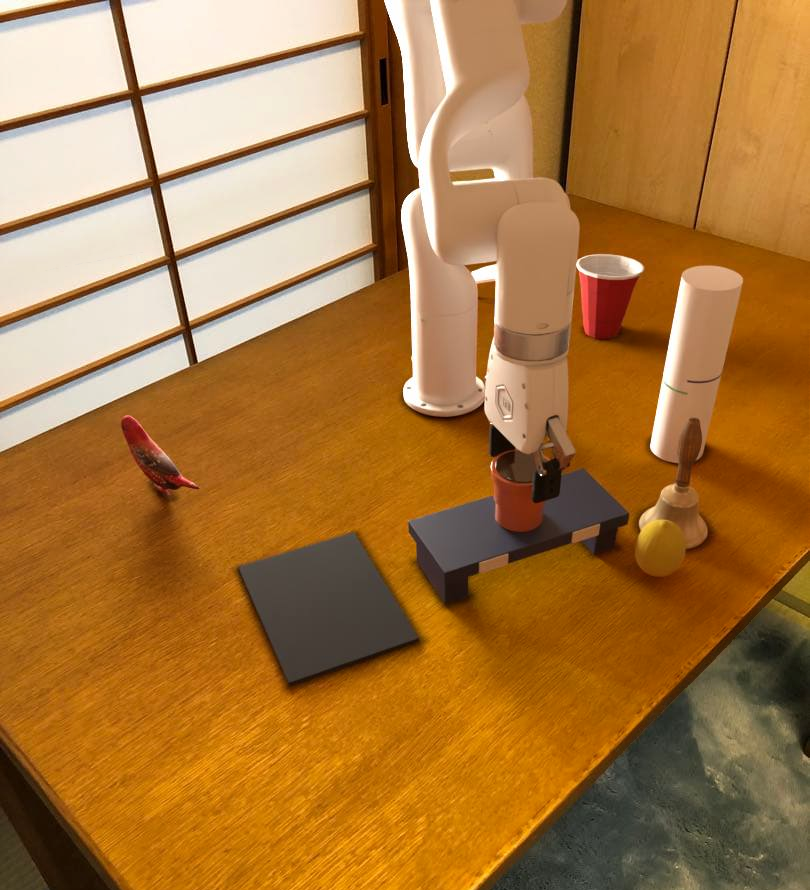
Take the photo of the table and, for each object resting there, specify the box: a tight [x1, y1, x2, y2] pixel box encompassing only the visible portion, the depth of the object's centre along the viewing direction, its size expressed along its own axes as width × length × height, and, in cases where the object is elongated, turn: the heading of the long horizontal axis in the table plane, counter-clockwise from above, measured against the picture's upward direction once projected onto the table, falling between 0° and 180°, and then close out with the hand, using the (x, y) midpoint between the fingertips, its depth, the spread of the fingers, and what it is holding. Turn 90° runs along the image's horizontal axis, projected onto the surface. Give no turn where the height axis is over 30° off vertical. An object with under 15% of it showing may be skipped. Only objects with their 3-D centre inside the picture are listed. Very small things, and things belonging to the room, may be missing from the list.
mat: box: [237, 531, 420, 687], centre depth 101 cm, size 20×15×1 cm
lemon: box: [634, 519, 687, 578], centre depth 101 cm, size 6×6×8 cm
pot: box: [490, 448, 551, 532], centre depth 100 cm, size 7×7×7 cm
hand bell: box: [638, 418, 709, 550], centre depth 104 cm, size 8×8×16 cm
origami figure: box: [471, 264, 496, 285], centre depth 158 cm, size 12×8×5 cm
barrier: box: [407, 467, 630, 605], centre depth 104 cm, size 10×24×6 cm, turn 114°
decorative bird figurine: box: [120, 415, 201, 498], centre depth 114 cm, size 3×18×10 cm, turn 44°
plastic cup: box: [576, 253, 645, 340], centre depth 145 cm, size 11×11×12 cm
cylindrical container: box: [649, 265, 744, 464], centre depth 114 cm, size 7×7×25 cm
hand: (522, 475), depth 98 cm, fingers open, 9 cm apart
